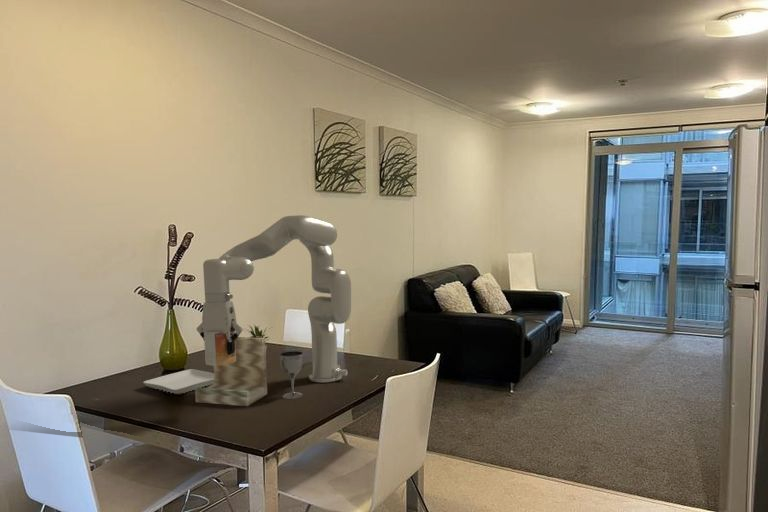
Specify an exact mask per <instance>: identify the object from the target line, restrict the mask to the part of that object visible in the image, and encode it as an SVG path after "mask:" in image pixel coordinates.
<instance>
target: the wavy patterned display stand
mask: <svg viewBox="0 0 768 512" xmlns="http://www.w3.org/2000/svg"><path fill="white" fill-rule="evenodd" d="M265 341H266V339H265V338H264V337H263V338H253V337H251V336H249V337H248V336H246V337H245V336H238V337H237V339H236V340H235V347H236V362H231V363H227V364H223V365H219V366H213V374H214V384H212V385H209V386H206V387H203V388H201V387H197V388H195V390H194V392H195V393H194V394H195V403H200V404H201V403H203V404H214V405H215V404H216V405H228V406H239V407H249V406H250V405H252V404H254V403H256V401H259V400H260V399H262V398H264V397H265V396H266V395H268V381H267V380H268V379H267V378H268V377H267V358H266V357H267V355H266V354H267V351H266V352H265V344H266V342H265Z"/></svg>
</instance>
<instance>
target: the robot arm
mask: <svg viewBox="0 0 768 512" xmlns="http://www.w3.org/2000/svg"><path fill="white" fill-rule="evenodd" d="M337 238H338V230H337V228H336V227H335V226H334V224H332V223H331V222H328V221H325V220H322V219H318V218H314V217H311V216H309V215H301V214H300V215H286V216H283V217H281V218H280V219H278V220H277V221H275V223H273V224H272V225H270V226H269V227H267V228H266V229H265V230H264V231H262V232H261V233H260V234H258V235H255V236H254V237H251V238H249V239H247V240H246V241H244V242H241V243H239V244H236V245H235V246H232V248H230V249H229V250H228V251H226V252H225V253H223V254H222V255H220V257H218V258H211V259H206V260H204V261H203V264H202V265H203V266H202V269H203V286H204V287H203V288H204V289H203V290H204V301H205V302H203V306H202V318H201V323H200V324H199V325H198V326H197V327H196V331H197V333H198V334H199V335H200V337H201V338H202V339H203V341H204V332H221V333H222V334H225V335H226V337H227V339H228V341H229V342H227V354H228V355H230V354H233V353H234V352H235V340H236V339H237V337H240V334H241V333H242V332H243V331H242V330H243V329H242V328H243V327H241V326H240V325H239V324H238V323H237V322H238V321H237V316H236V311H235V305H234V303H233V301H231V300H232V299H234V298H233V297H234V295H233V294H231V292H230V281H232V280H233V281H244V280H247V279H248V278H250V277H251V276H252V275H253V274H254V271H255V267H254V263H253V261H257V260H261V259H267V258H270V257H272V256H274V255H276V254H277V253H278V252H279V251H280V250H282V249H283V248H284V247H286V246H287V245H288V244H290V243H291V242H292V241H293V240H294V241H295V240H298V241H299V242H300V243H301V244H302V245H303V246H304V247H305V248H306V249H307V250H308V252H309V255H310V259H311V260H310V261H311V263H310V264H311V287H312V289H313V291H315V292H317V293H320V294H327V295H328V294H330V296H324V295H322V296H321V295H319V296H316V297H314V298H312V299H311V300H310V301H309V303H308V306H307V314H308V319H309V323H310V330H311V354H312V355H311V357H312V373H310V374H309V375H308V379H309V381H311V382H313V383H320V384H321V383H331V382H333V383H334V382H336V381H338V380H339V381H340V380H341V379H342V377H345V376H348V370H347V369H345V368H341V365H340V364H338V345H337V341H338V338H337V336H338V335H337V329H336V326H335V324H339V325H341V324H344V323H346V322H348V320H349V319H350V317H351V314H352V313H351V312H352V282H351V277H350V275H349V273H348V272H347V271H346V270H344V269H341V268H335V259H334V252H333V250H332V247H331V246H332V245H333V244H334V243H335V242H336V241H337ZM232 330H234V331H235V334H234V333H233V332H234V331H232Z"/></svg>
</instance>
